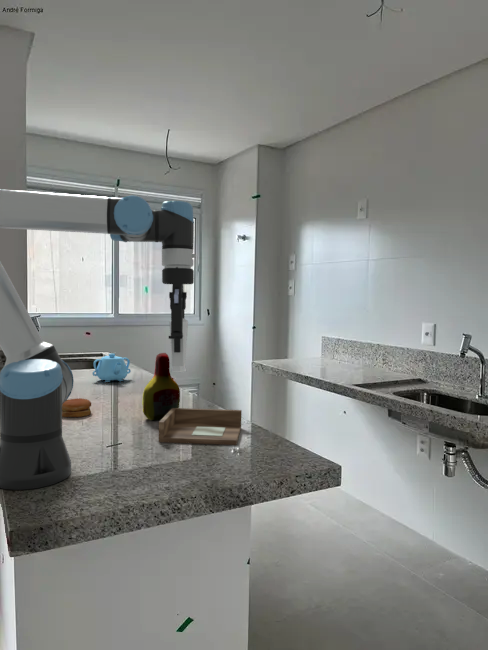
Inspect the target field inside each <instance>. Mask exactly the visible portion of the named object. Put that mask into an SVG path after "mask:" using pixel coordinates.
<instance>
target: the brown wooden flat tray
mask: <svg viewBox="0 0 488 650" xmlns="http://www.w3.org/2000/svg"><path fill="white" fill-rule="evenodd" d="M241 431H242V409H224V408H223V409H222V408H221V409H218V408H217V409H215V408H192V407H191V408H189V407H188V408H186V407H185V408H183V407H179V408H172V409H171V410H170V411H169V412H168V413H167V414H166V415H165V416H164V417H163V418H162V419H159V421H158V443H167V444H168V443H171V444H173V443H174V444H194V445H195V444H199V445H221V446H222V445H224V446H225V445H226V446H237V444H238V441H239V438H240V433H241Z"/></svg>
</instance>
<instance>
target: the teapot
mask: <svg viewBox="0 0 488 650" xmlns="http://www.w3.org/2000/svg"><path fill="white" fill-rule="evenodd" d="M125 360H126V361H127V363H125ZM97 362H98V364H97ZM130 363H131V361H130V359H129V358H128V357H125V356H124V357H122V356H117V355H116V353H108V355H104V356H102V357H101V358H96V359H95V360H94V361H93V368H94V370H93V372H92V376H93V377H97V378H98V379H99V380H100V381H101V380H105V381H104V383H105V382H110V383H111V381H117V382H118V381H123V382H124V379H126V378H127V376H128V374H130V373H131V369H130V368H129V367H130Z"/></svg>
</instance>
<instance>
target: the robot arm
mask: <svg viewBox="0 0 488 650" xmlns="http://www.w3.org/2000/svg"><path fill="white" fill-rule="evenodd" d="M193 207H194V206H193V205H192V204H191V203H190V202H187V201H182V200H166V201H163V202H162V204H161V208H160V209H152V207H151V206H150V204H149V203H148V202H147V200H146V199H145V198H143V197H141V196H138V195H133V194H132V195H127V196H124V197H110V196H109V197H108V196H97V195H87V194H86V195H85V194H84V195H81V194H69V193H55V192H43V191H32V190H31V191H30V190H29V191H28V190H15V189H1V188H0V229H10V230H11V229H12V230H13V229H15V230H26V231H27V230H30V231H33V230H34V231H46V232H47V231H48V232H49V231H50V232H65V233H66V232H67V233H84V234H85V233H86V234H105V235H106V234H107V235H109V236H110V239H111V240H112V241H114V242H124V243H128V242H129V243H131V242H133V243H134V242H136V243H137V242H138V243H142V242H143V243H161V266H163V268H162V269H161V270H162V271H161V282H162V284H164V285H172V287H171V288H172V290H171V291H169V294H168V297H169V298H168V299H169V301H170V302H169V303H170V304H169V309H170V320H171V336H170V335H168V339H169V340H171V339H172V355H171V367H172V366H183V339H182V337H183V318H184V319H185V310H186V309H187V301H186V300H187V295H188V294H187V291H184V285H193V284H194V283H195V281H194V279H195V278H194V277H195V272H194V269H193V268H192V267H194V259H196V258H197V254H196V253H194V247H195V246H194V243H195V241H194V239H195V237H194V233H195V232H194V231H195V229H194V228H195V226H194V225H195V221H194V208H193ZM0 349H1V350H2V352H3V354H4V356H5V358H6V359H5V362H4V366H3V368H2V369H1V370H0V489H4V490H11V491H13V490H15V491H17V490H21V491H22V490H32V489H39V488H43V487H44V488H45V487H48V486H51V485H55V484H57V483H60V482H62V481H64V480H65V479H67V478H69V476H70V475H71V474H72V459H71V457H70V455H69V452H68V449H67V446H66V443H65V441H64V437H63V417H62V404H63V403H64V402H65V401H66V400H69V397H70V395H71V394H72V391H73V388H74V383H75V381H74V376H73V371H72V370H71V367H70V366H69V365H68V363H67V362H65V361H64V360H63V359H62V358H61V356H60V355H59V353H58V351H57V349H56V347H55V345H54V344H52V343H50V342H46V341H44V340H43V338H42V336H41V334H40V333H39V330H38V329H37V327H36V325H35V323H34V321H33V319H32V317H31V315H30V314H29V311H28V310H27V308H26V306H25V304H24V302H23V301H22V299H21V297H20V295H19V293H18V291H17V289H16V288H15V286H14V284H13V282H12V279H11V278H10V276H9V274H8V273H7V270H6V269H5V267H4V265H3V264H2V261H1V260H0Z"/></svg>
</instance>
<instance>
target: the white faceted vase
mask: <svg viewBox="0 0 488 650" xmlns="http://www.w3.org/2000/svg"><path fill="white" fill-rule="evenodd" d="M168 322H169V336H171V319H170V320H169V321H168ZM188 325H189V321H188V320H187V319H185V317H184V318H183V337H182V339H183V366H172V365H171V369H170V373H185V372H187V368H186V365H185V364H186V353H187V340H188ZM170 352H171V356H172V339H170Z"/></svg>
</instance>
